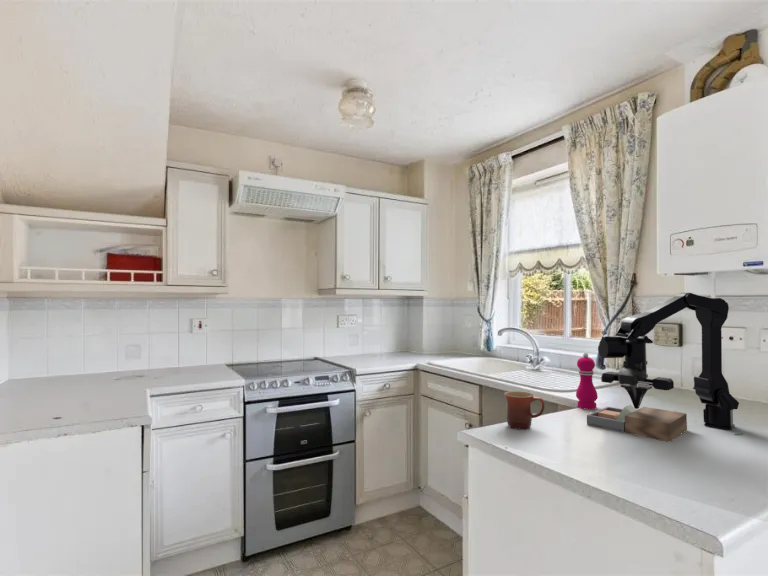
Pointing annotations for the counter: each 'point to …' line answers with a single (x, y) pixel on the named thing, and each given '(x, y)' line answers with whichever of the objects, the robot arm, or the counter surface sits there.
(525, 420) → the mug
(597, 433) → the counter surface
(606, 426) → the box
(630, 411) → the tile sage
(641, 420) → the brown wooden block
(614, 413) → the tile terracotta
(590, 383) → the pepper mill
